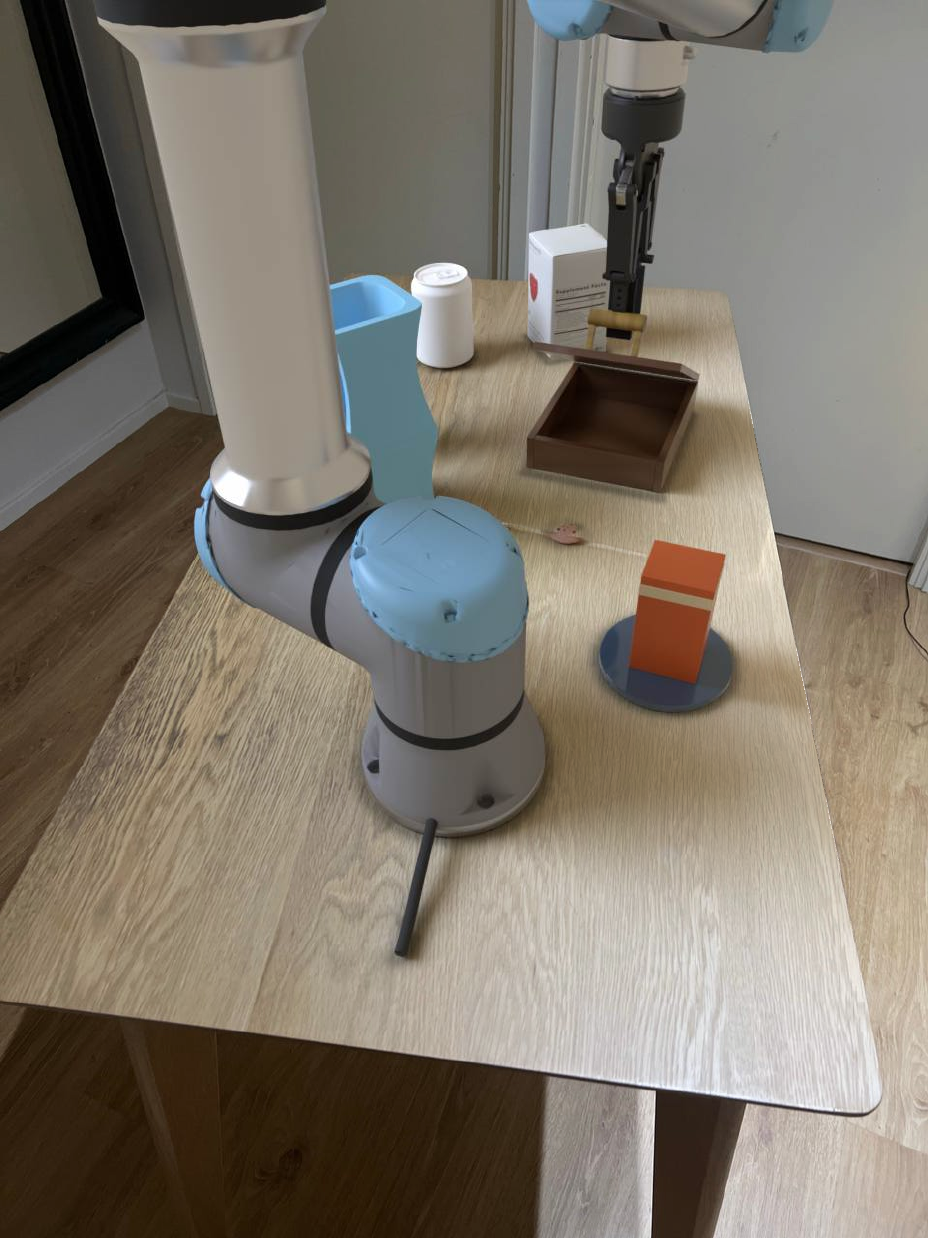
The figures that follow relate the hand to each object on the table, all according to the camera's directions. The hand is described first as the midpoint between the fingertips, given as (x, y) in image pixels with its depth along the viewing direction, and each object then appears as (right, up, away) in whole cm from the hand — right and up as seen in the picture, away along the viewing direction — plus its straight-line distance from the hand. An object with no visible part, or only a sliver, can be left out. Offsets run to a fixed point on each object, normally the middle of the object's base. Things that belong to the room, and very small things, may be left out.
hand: (622, 330), depth 98 cm
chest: (+1, -10, +11) cm, 15 cm away
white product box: (-3, +7, +30) cm, 31 cm away
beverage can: (-20, +5, +28) cm, 35 cm away
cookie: (-6, -23, -2) cm, 24 cm away
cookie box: (+1, -35, -17) cm, 39 cm away
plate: (+1, -36, -16) cm, 39 cm away
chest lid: (+1, -3, +4) cm, 5 cm away
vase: (-26, -21, +1) cm, 34 cm away
